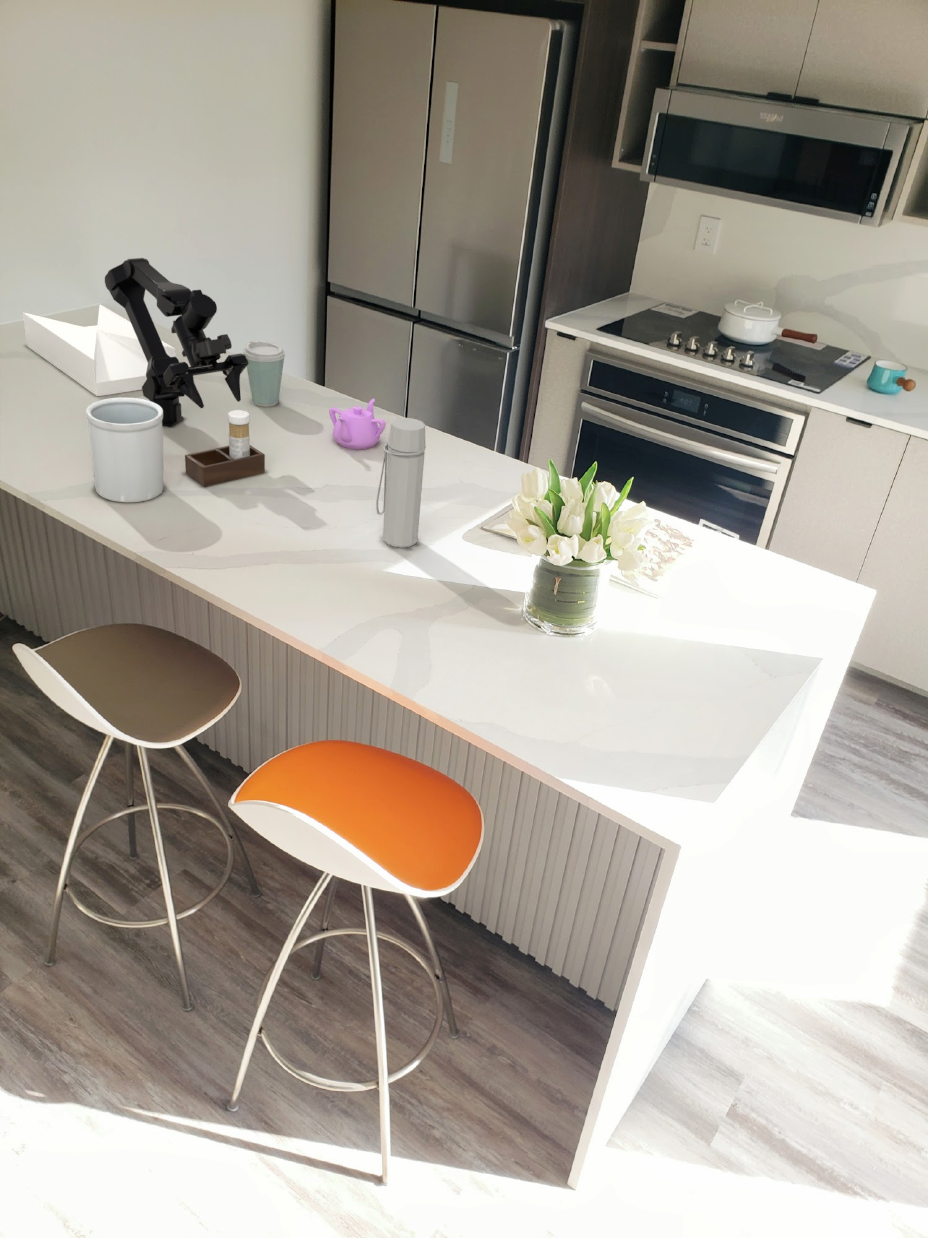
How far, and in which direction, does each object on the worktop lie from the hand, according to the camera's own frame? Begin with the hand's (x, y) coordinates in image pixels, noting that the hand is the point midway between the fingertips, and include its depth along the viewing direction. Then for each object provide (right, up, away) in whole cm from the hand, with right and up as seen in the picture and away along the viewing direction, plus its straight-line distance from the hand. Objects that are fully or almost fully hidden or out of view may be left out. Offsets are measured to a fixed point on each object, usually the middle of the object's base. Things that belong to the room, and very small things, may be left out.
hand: (221, 404), depth 224 cm
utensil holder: (-16, -20, -11) cm, 28 cm away
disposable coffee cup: (+2, +9, +40) cm, 41 cm away
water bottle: (+40, -32, -19) cm, 54 cm away
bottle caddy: (+1, -15, 0) cm, 15 cm away
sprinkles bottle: (+4, -14, +3) cm, 15 cm away
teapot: (+27, -4, +23) cm, 36 cm away
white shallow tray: (-46, +22, +52) cm, 73 cm away
